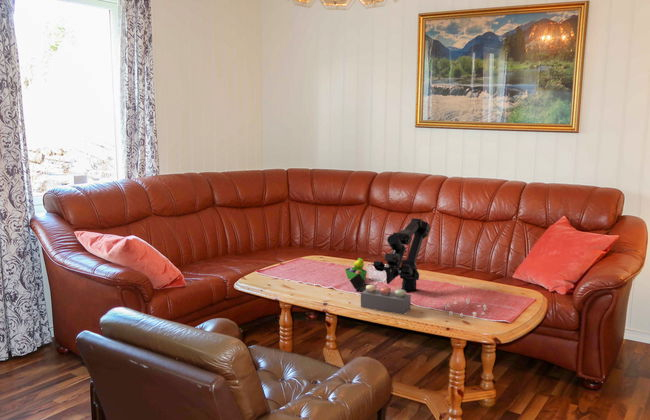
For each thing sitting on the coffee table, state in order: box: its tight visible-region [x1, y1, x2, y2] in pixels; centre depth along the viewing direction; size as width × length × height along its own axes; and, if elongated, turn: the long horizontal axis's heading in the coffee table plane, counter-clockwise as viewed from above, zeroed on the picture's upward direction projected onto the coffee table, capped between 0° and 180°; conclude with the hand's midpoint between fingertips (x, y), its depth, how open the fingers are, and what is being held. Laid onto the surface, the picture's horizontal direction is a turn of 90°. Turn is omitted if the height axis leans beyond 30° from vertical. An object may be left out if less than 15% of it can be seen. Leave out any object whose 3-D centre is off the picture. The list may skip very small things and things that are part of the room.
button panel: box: [360, 288, 412, 316], centre depth 272 cm, size 22×8×7 cm, turn 59°
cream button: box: [366, 284, 377, 293], centre depth 275 cm, size 5×5×4 cm
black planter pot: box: [349, 274, 377, 293], centre depth 301 cm, size 13×8×11 cm
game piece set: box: [444, 297, 487, 319], centre depth 267 cm, size 19×20×4 cm
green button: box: [394, 288, 406, 298], centre depth 267 cm, size 5×5×4 cm
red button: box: [379, 286, 392, 295], centre depth 271 cm, size 5×5×4 cm
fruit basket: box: [344, 257, 368, 281], centre depth 316 cm, size 11×9×11 cm
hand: (387, 283), depth 272 cm, fingers closed
